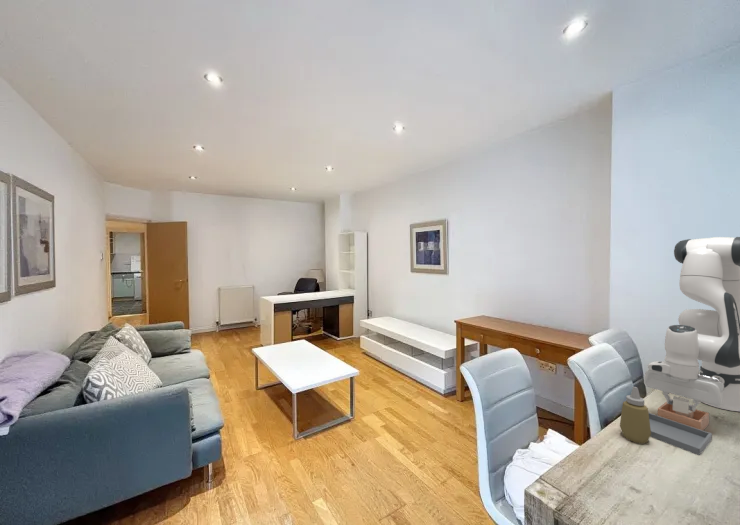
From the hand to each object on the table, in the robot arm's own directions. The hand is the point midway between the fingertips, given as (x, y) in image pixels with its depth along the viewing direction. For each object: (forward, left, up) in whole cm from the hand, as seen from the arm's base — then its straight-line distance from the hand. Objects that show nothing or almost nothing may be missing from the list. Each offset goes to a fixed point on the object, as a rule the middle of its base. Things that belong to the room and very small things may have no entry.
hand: (680, 407), depth 111 cm
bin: (-3, 0, -7) cm, 7 cm away
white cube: (-5, 0, -6) cm, 7 cm away
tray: (+12, 0, -7) cm, 14 cm away
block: (0, 0, -1) cm, 1 cm away
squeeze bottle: (+25, -5, -7) cm, 27 cm away
